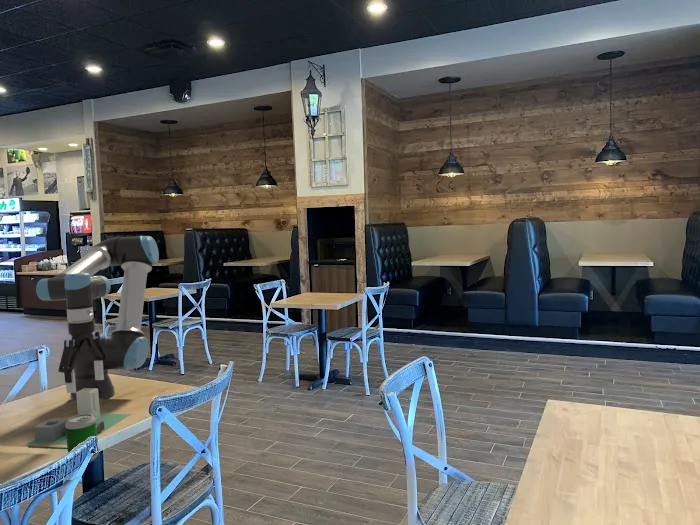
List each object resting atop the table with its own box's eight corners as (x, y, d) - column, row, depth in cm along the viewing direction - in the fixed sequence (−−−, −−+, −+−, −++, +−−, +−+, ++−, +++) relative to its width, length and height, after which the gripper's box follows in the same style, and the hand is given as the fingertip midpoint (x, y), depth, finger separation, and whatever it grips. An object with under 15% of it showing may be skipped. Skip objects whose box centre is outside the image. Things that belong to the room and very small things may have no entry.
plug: (86, 417, 174) (84, 388, 173) (101, 418, 173) (99, 388, 172) (78, 422, 170) (76, 392, 169) (93, 422, 169) (91, 392, 168)
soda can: (86, 467, 141) (82, 423, 140) (62, 465, 142) (58, 422, 141) (105, 454, 148) (101, 413, 147) (81, 453, 149) (78, 412, 149)
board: (83, 417, 179) (81, 399, 178) (131, 418, 175) (129, 400, 175) (28, 447, 155) (26, 427, 155) (82, 449, 152) (80, 429, 151)
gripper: (63, 328, 156) (69, 398, 157) (115, 314, 180) (120, 375, 182) (41, 328, 157) (47, 398, 159) (95, 314, 182) (100, 374, 183)
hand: (86, 386), depth 170 cm, fingers open, 13 cm apart
